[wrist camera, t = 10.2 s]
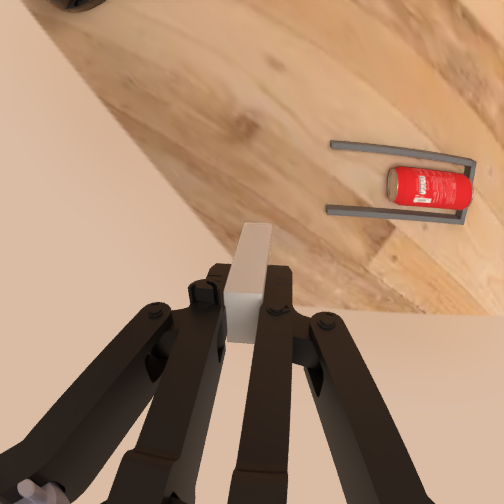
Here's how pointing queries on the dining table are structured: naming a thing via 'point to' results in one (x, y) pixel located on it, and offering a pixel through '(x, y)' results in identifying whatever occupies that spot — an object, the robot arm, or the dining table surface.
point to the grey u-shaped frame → (395, 213)
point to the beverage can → (429, 188)
